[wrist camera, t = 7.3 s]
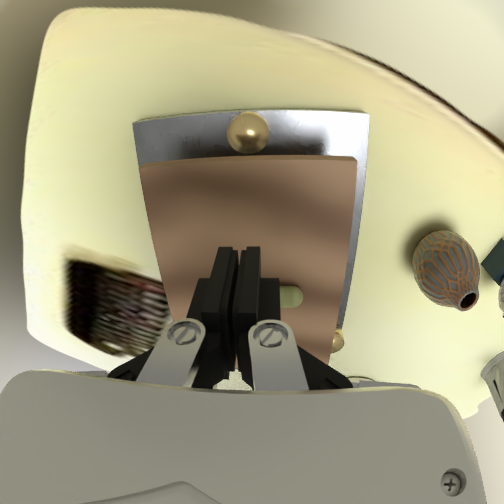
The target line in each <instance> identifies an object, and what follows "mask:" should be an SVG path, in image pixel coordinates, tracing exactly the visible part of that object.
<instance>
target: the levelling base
mask: <svg viewBox="0 0 504 504" xmlns="http://www.w3.org/2000/svg"><path fill="white" fill-rule="evenodd" d="M132 124H133V131H134V138H135V145H136V152H137V158H138V164H139V168H140V167H141V166H142V165H143V164H145V163H151V162H161V161H171V160H183V159H196V158H211V157H230V156H258V155H329V156H353V157H354V158H355V159H356V160H357V161H358V166H357V179H356V190H355V201H354V211H353V220H352V228H351V236H350V244H349V251H348V259H347V265H346V272H345V278H344V285H343V291H342V297H341V302H340V308H339V314H338V319H337V324H336V329H335V334H334V339H333V344H332V349H331V353H335V352H337V351H339V350H340V349H341V348H342V347H343V346H344V339H343V335H342V325H343V320H344V316H345V311H346V306H347V301H348V295H349V290H350V285H351V279H352V273H353V267H354V261H355V255H356V248H357V242H358V235H359V228H360V220H361V212H362V204H363V195H364V185H365V175H366V163H367V150H368V135H369V114H368V113H365V112H359V111H345V110H327V109H245V110H226V111H212V112H200V113H190V114H181V115H172V116H164V117H157V118H150V119H143V120H138V121H136V122H134V123H132Z"/></svg>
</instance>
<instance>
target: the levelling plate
mask: <svg viewBox="0 0 504 504" xmlns="http://www.w3.org/2000/svg"><path fill="white" fill-rule="evenodd" d="M357 166H358V161H357V160H356V159H355V158H354V157H353V156H329V155H258V156H230V157H211V158H196V159H183V160H171V161H161V162H151V163H145V164H143V165H142V166H141V167H140V168H139V173H140V179H141V184H142V190H143V195H144V201H145V206H146V211H147V216H148V221H149V226H150V230H151V235H152V240H153V244H154V249H155V253H156V257H157V261H158V266H159V270H160V274H161V278H162V282H163V286H164V290H165V293H166V297H167V301H168V305H169V308H170V312H171V316H172V319H173V321H176V320H178V319H183V318H186V316H187V313H188V310H189V307H190V304H191V300H192V297H193V294H194V291H195V288H196V285H197V282H198V279H199V278H210V276H211V272H212V268H213V265H214V261H215V258H216V254H217V251H218V247H233V250H238V258H239V263H240V256H241V250H246V248H247V246H260V249H261V278H279V282H280V310H281V321H282V322H284V323H286V324H287V325H288V326H290V327H291V329H292V331H293V334H294V338H295V341H296V345H298V346H299V347H301V348H302V349H304V350H305V351H307V352H309V353H310V354H312V355H313V356H315V357H316V358H318V359H319V360H321V361H322V362H324V363H325V364H327V365H328V363H329V358H330V353H331V349H332V344H333V339H334V334H335V329H336V324H337V319H338V314H339V308H340V302H341V297H342V291H343V285H344V278H345V272H346V265H347V259H348V251H349V244H350V236H351V228H352V220H353V211H354V201H355V190H356V179H357ZM235 369H238V363H237V356H236V364H235Z"/></svg>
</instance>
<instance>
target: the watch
mask: <svg viewBox="0 0 504 504" xmlns="http://www.w3.org/2000/svg"><path fill="white" fill-rule="evenodd" d="M481 265H482V266H483V267H484V268H485V270H486V271H487V272H488V273H489V275H490V276H491V277H492V278H493V280H494V281H495V282H496V283H497V284H498V285H499V286H500V289H499V297H498V299H499V306H500V309H501V310H502V311H503V312H504V240H503V239H502V238H501V240H500V241H499V242H498V243H497V245H496V246H495V247H494V249H493V250H492V251H491V252H490V254H489V255H488V256H487V257H486V258H485V260H484V261H483V262H482V263H481ZM502 316H503V318H504V313H503V315H502Z"/></svg>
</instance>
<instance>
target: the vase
mask: <svg viewBox="0 0 504 504" xmlns="http://www.w3.org/2000/svg"><path fill="white" fill-rule="evenodd" d="M412 266H413V273H414V277H415V280H416V282H417V284H418V286H419V288H420V289H421V291H422V292H423V293H424V295H425V296H426V297H427V298H429V299H430V300H431V301H433V302H434V303H436V304H438V305H441V306H446V307H454V308H456V309H458V310H460V311H467V310H469V309H471V308H472V307H473V306H474V305H475V304H476V303H477V301H478V298H479V291H478V284H479V275H480V269H479V263H478V259H477V257H476V254H475V252H474V250H473V249H472V247H471V246H470V245H469V243H468V242H467V241H466V240H465V239H464V238H462V237H461V236H460V235H458V234H456V233H454V232H451V231H446V230H439V231H435V232H432V233H430V234H428V235H426V236H425V237H424V238H423V239H422V240H421V241H420V242H419V244H418V245H417V247H416V249H415V252H414V255H413V262H412Z"/></svg>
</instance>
